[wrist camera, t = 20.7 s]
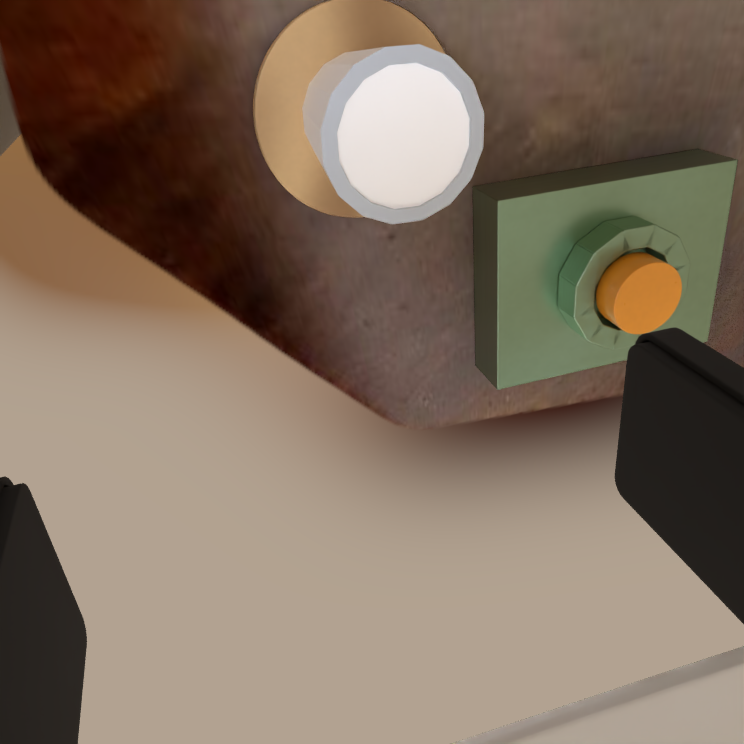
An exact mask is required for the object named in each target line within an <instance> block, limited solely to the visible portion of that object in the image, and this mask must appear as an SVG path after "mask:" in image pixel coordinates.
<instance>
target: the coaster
mask: <svg viewBox="0 0 744 744" xmlns="http://www.w3.org/2000/svg"><path fill="white" fill-rule="evenodd" d="M415 44H420V45H423V46H425V47H428V48H430V49H433V50H435V51H438V52H440V53H443V54H445V53H444V51H443V49H442V47H441V45H440V44H439V42H438V41H437V39H436V38H435V36H434V35H433V34H432V32H431V31H430V30H429V29H428V28H427V27H426V25H425V24H424V23H422V22H421V21H420V20H419V19H418V18H417V17H416V16H414V15H413V14H411V13H410V12H408V11H407V10H405V9H404V8H402V7H400V6H398V5H395V4H393V3H391V2H388V1H385V0H328V1H326V2H323V3H320V4H317V5H315V6H313V7H312V8H310V9H308V10H306V11H304V12H303V13H302V14H300V15H299V16H297V17H296V18H295V19H293V20H292V21H291V22H290V23H289V24H288V25H287V26H286V27H285V28H284V29H283V30H282V31H281V32H280V34H279V35H278V36H277V38H276V39H275V40H274V41H273V43H272V45H271V46H270V48H269V50H268V51H267V53H266V55H265V57H264V60H263V62H262V64H261V67H260V69H259V73H258V76H257V80H256V84H255V90H254V97H253V118H254V128H255V132H256V137H257V141H258V144H259V147H260V149H261V152H262V155H263V157H264V159H265V161H266V163H267V165H268V167H269V168H270V170H271V171H272V173H273V174H274V175H275V177H276V178H277V180H278V181H279V182H280V183H281V184H282V185H283V187H284V188H285V189H286V190H287V191H288V192H289V193H291V194H292V195H293V196H294V197H295V198H296V199H298V200H299V201H301V202H302V203H304V204H306V205H307V206H309V207H311V208H313V209H315V210H317V211H320V212H323V213H326V214H329V215H333V216H339V217H353V218H357V217H364V216H362V215H361V214H360V213H358V212H357V211H356V210H355V209H354V208H352V207H351V206H350V205H349V204H348V203H346V202H345V201H344V200H343V199H342V198H341V197H339V196H338V194H337V192H336V190H335V188H334V187H333V185H332V183H331V181H330V179H329V178H328V176H327V174H326V172H325V170H324V169H323V167H322V165H321V163H320V161H319V160H318V158H317V156H316V154H315V152H314V150H313V148H312V146H311V144H310V142H309V140H308V138H307V136H306V134H305V132H304V122H303V111H302V107H303V103H304V100H305V96H306V93H307V89H308V86H309V83H310V82H311V81H312V79H313V78H314V77H315V75H316V74H317V73H318V71H319V70H320V69H321V67H322V66H323V65H324V64H325V63H327V62H329V61H331V60H332V59H334V58H336V57H338V56H339V55H341V54H343V53H345V52H352V51H359V50H366V49H373V48H381V47H390V46H402V45H415Z"/></svg>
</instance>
